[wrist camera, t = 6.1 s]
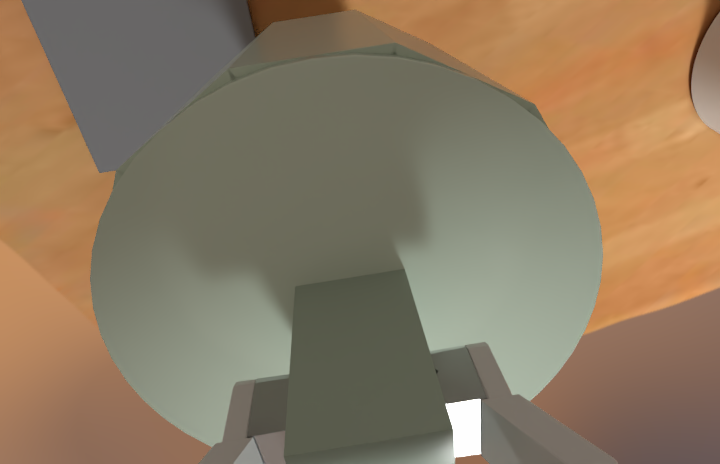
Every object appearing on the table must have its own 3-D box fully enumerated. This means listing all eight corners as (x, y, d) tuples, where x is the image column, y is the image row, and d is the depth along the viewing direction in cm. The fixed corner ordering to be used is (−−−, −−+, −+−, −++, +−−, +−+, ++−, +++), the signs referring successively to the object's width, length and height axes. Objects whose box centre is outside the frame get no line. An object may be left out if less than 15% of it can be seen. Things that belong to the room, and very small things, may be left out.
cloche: (467, -8, 21) (921, 36, 5) (471, 252, 28) (667, 600, 12) (159, 39, 21) (-321, 231, 5) (241, 288, 28) (146, 686, 12)
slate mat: (231, -70, 31) (229, -71, 30) (279, 142, 38) (279, 144, 38) (10, -37, 30) (4, -37, 30) (102, 170, 38) (99, 172, 37)
